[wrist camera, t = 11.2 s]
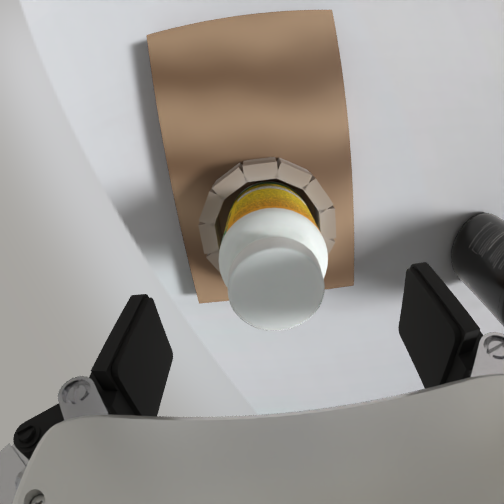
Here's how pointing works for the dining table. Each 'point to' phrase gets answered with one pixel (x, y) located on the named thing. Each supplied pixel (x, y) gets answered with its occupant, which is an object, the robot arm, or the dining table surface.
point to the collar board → (254, 128)
